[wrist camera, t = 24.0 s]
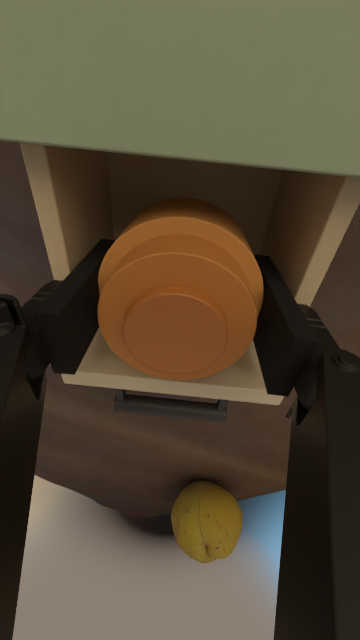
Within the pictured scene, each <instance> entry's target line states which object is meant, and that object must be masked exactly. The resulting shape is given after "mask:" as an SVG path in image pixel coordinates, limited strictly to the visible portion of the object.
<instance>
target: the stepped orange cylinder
mask: <svg viewBox="0 0 360 640" xmlns="http://www.w3.org/2000/svg"><path fill="white" fill-rule="evenodd" d="M98 285H99V293H100V298H99V302H98V311H97V315H98V323H99V327H100V330H101V333H102V335H103V337H104V339H105V341H106V343H107V344H108V346H109V347H110V348H111V349H112V351H113V352H114V353H115V354H116V355H117V356H118V357H119V358H120V359H122V360H123V361H124V362H125V363H127V364H128V365H130V366H132V367H133V368H135V369H137V370H139V371H141V372H144V373H146V374H149V375H152V376H155V377H159V378H164V379H172V380H192V379H199V378H203V377H208V376H211V375H213V374H216V373H218V372H221V371H223V370H225V369H226V368H228V367H230V366H231V365H232V364H234V363H235V362H236V361H238V360H239V359H240V358H241V357H242V356H243V355H244V353H245V352H246V351H247V349H248V348H249V346H250V344H251V342H252V340H253V338H254V335H255V331H256V327H257V318H258V315H259V312H260V309H261V306H262V302H263V294H264V287H263V278H262V275H261V271H260V268H259V266H258V264H257V261H256V259H255V257H254V255H253V253H252V251H251V248H250V246H249V244H248V242H247V240H246V237H245V235H244V233H243V231H242V230H241V228H240V227H239V225H238V224H237V223H236V222H235V220H234V219H233V218H232V217H231V216H230V215H228V214H227V213H226V212H225V211H223V210H222V209H220V208H219V207H217V206H215V205H213V204H211V203H208V202H206V201H202V200H199V199H193V198H172V199H166V200H163V201H160V202H157V203H155V204H153V205H151V206H149V207H147V208H146V209H144V210H143V211H141V212H140V213H139V214H138V215H137V216H135V217H134V218H133V220H132V221H131V222H130V223H129V225H128V226H127V227H126V228H125V230H124V231H123V232H122V233H121V235H120V236H119V237H118V238H117V240H116V241H115V242H114V243H113V245H112V246H111V247H110V248H109V250H108V251H107V253H106V255H105V257H104V258H103V261H102V263H101V266H100V269H99V274H98Z"/></svg>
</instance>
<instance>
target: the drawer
mask: <svg viewBox="0 0 360 640" xmlns="http://www.w3.org/2000/svg"><path fill="white" fill-rule="evenodd" d="M20 146H21V150H22V154H23V158H24V162H25V166H26V170H27V174H28V178H29V182H30V186H31V190H32V194H33V198H34V202H35V206H36V210H37V214H38V218H39V222H40V226H41V230H42V234H43V238H44V242H45V246H46V250H47V254H48V258H49V262H50V266H51V270H52V274H53V278H54V280H62V281H63V280H64V279H65V278H66V277H67V276H68V275H69V274H70V272H71V271H72V270H73V269H74V268H75V267H76V266H77V265H78V264H79V263H80V262H81V261H82V260H83V258H84V257H85V256H86V255H87V254H88V253H89V252H90V251H91V250H92V249H93V248H94V247H95V246H96V244H97V243H98V242H99V241H100V240H101V239H109V240H117V238H118V237H119V236H120V235H121V233H122V232H123V231H124V230H125V228H126V227H127V226H128V225H129V223H130V222H131V221H132V220H133V218H134V217H135V216H137V215H138V214H139V213H140V212H141V211H143V210H144V209H146V208H147V207H149V206H151V205H153V204H155V203H157V202H160V201H163V200H166V199H172V198H193V199H199V200H202V201H206V202H208V203H211V204H213V205H215V206H217V207H219V208H220V209H222V210H223V211H225V212H226V213H227V214H228V215H230V216H231V217H232V218H233V219H234V220H235V222H236V223H237V224H238V225H239V227H240V228H241V230H242V231H243V233H244V235H245V237H246V240H247V242H248V244H249V246H250V248H251V251H252V253H253V255H265V256H270V258H271V260H272V261H273V263H274V265H275V267H276V268H277V270H278V272H279V273H280V275H281V277H282V278H283V280H284V282H285V284H286V285H287V287H288V289H289V290H290V292H291V294H292V295H293V297H294V299H295V301H296V302H297V304H305V305H308V306H309V307H310V305H311V303H312V301H313V299H314V297H315V294H316V292H317V290H318V288H319V286H320V284H321V282H322V280H323V278H324V276H325V274H326V272H327V269H328V267H329V265H330V263H331V261H332V259H333V257H334V255H335V253H336V251H337V249H338V247H339V245H340V242H341V240H342V238H343V236H344V234H345V232H346V230H347V228H348V226H349V224H350V222H351V220H352V218H353V215H354V213H355V211H356V209H357V207H358V205H359V203H360V178H354V177H344V176H335V175H325V174H315V173H306V172H296V171H286V170H277V169H267V168H258V167H248V166H238V165H229V164H219V163H209V162H200V161H190V160H180V159H171V158H161V157H151V156H142V155H132V154H123V153H113V152H103V151H94V150H84V149H74V148H65V147H55V146H45V145H36V144H26V143H20ZM61 375H62V378H63V381H64V383H67V384H77V385H86V386H96V387H106V388H115V389H116V397H115V400H114V411H116V412H126V413H136V414H146V415H155V416H165V417H175V418H184V419H194V420H204V421H214V422H223V423H224V422H225V421H226V417H227V408H226V405H227V402H228V400H232V401H242V402H252V403H261V404H271V405H280V403H281V401H282V399H283V397H284V396H279V395H269V394H267V391H266V387H265V383H264V379H263V376H262V372H261V368H260V364H259V361H258V357H257V353H256V349H255V346H254V342H253V340H252V342H251V344H250V346H249V348H248V349H247V351H246V352H245V353H244V355H243V356H242V357H241V358H240V359H239V360H238V361H236V362H235V363H234V364H232V365H231V366H230V367H228V368H226V369H225V370H223V371H221V372H218V373H216V374H213V375H211V376H208V377H203V378H199V379H192V380H172V379H164V378H159V377H155V376H152V375H149V374H146V373H144V372H141V371H139V370H137V369H135V368H133V367H132V366H130V365H128V364H127V363H125V362H124V361H123V360H122V359H120V358H119V357H118V356H117V355H116V354H115V353H114V352H113V351H112V349H111V348H110V347H109V346H108V344H107V343H106V341H105V339H104V337H103V335H102V333H101V330H100V327H99V328H98V330H97V332H96V334H95V336H94V338H93V340H92V342H91V344H90V346H89V348H88V350H87V352H86V354H85V356H84V358H83V360H82V362H81V363H80V365H79V367H78V369H77V371H76V373H75V375H70V374H61ZM125 390H135V391H145V392H154V393H164V394H174V395H184V396H193V397H203V398H213V399H218V402H217V404H216V403H207V402H197V401H187V400H177V399H168V398H158V397H148V396H138V395H129V394H126V393H125Z"/></svg>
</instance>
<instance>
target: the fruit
mask: <svg viewBox="0 0 360 640" xmlns="http://www.w3.org/2000/svg"><path fill="white" fill-rule="evenodd" d="M242 520H243V517H242V512H241V509H240V507H239V505H238V503H237V501H236V500H235V498H234V497H233V496H232V495H231V494H230V493H229V492H228V491H227V490H225V489H223V488H222V487H220V486H218V485H216V484H214V483H212V482H209V481H204V480H200V481H195V482H193V483H191V484H189V485H188V486H187V487H185V488H184V489H183V490H182V492H181V493H180V494H179V496H178V497H177V499H176V501H175V503H174V506H173V509H172V512H171V521H172V526H173V530H174V535H175V538H176V541H177V543H178V545H179V547H180V548H181V549H182V550H183V551H184V552H185V553H186V554H187V555H188V556H189V557H191V558H193V559H195V560H196V561H198V562H201V563H208V562H212V561H214V560H215V559H223V558H226V557H228V556H229V555H230V554H231V553H232V551H233V550H234V548H235V546H236V543H237V540H238V538H239V536H240V534H241V529H242Z"/></svg>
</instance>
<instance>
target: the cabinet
mask: <svg viewBox="0 0 360 640" xmlns="http://www.w3.org/2000/svg"><path fill="white" fill-rule="evenodd" d="M0 141H7V142H16V143H26V144H36V145H45V146H55V147H65V148H74V149H84V150H94V151H103V152H113V153H123V154H132V155H142V156H151V157H161V158H171V159H180V160H190V161H200V162H209V163H219V164H229V165H238V166H248V167H258V168H267V169H277V170H286V171H296V172H306V173H315V174H325V175H335V176H344V177H354V178H360V0H0Z"/></svg>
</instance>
